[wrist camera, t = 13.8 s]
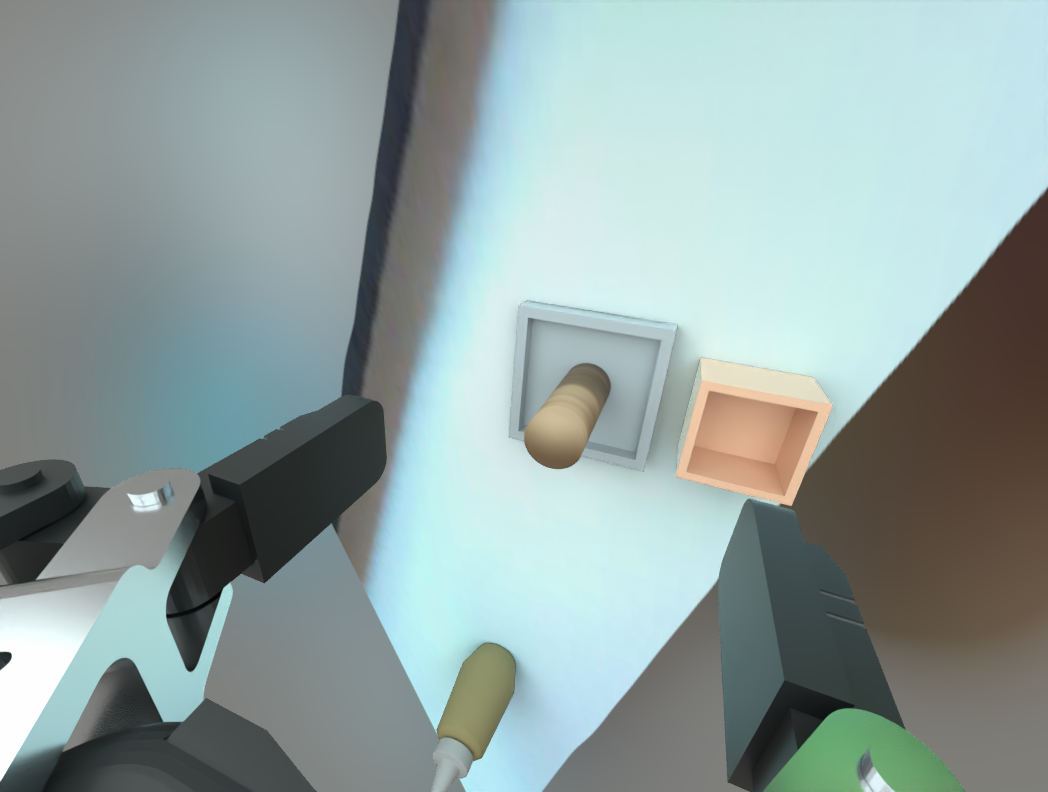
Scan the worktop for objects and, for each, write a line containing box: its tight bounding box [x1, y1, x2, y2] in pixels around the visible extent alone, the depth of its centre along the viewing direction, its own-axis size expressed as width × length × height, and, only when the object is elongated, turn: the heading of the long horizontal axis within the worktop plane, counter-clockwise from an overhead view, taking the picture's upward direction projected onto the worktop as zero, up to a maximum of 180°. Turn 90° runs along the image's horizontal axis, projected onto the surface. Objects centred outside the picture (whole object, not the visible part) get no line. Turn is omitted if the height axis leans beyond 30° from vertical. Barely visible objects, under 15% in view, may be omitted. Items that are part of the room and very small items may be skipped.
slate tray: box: [509, 301, 677, 472], centre depth 43 cm, size 14×14×2 cm
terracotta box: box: [676, 358, 833, 506], centre depth 37 cm, size 9×9×6 cm
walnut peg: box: [524, 363, 611, 469], centre depth 38 cm, size 4×4×12 cm
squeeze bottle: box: [431, 643, 516, 792], centre depth 56 cm, size 8×8×18 cm
